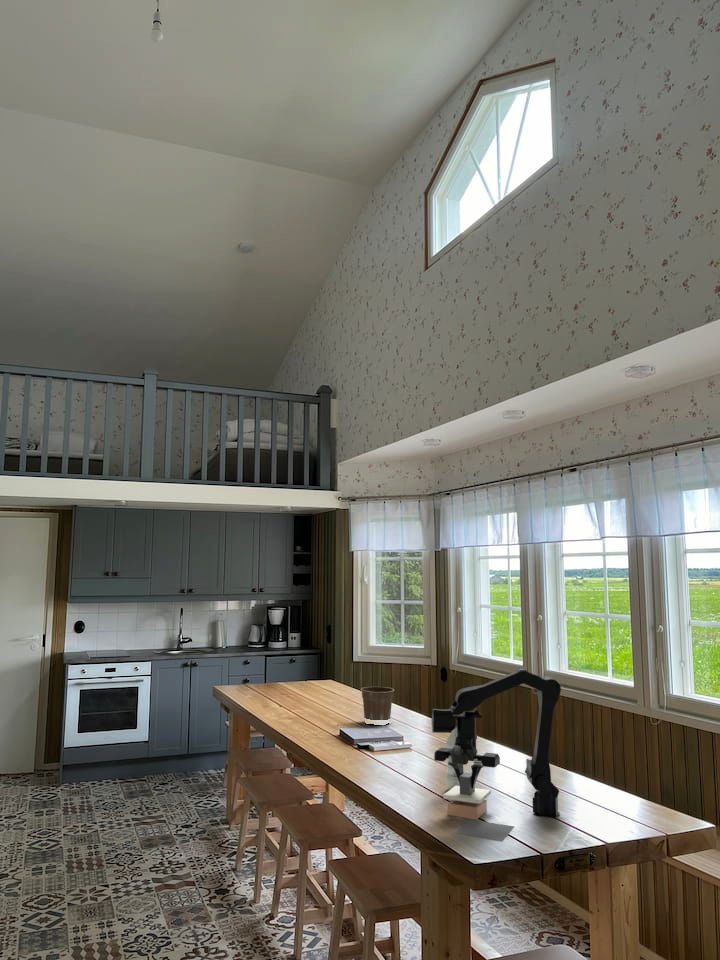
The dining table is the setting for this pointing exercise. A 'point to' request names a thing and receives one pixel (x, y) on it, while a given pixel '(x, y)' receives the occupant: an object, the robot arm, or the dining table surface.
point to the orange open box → (467, 809)
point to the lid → (467, 791)
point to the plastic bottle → (451, 774)
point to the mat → (485, 830)
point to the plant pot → (377, 702)
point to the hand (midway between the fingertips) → (467, 787)
